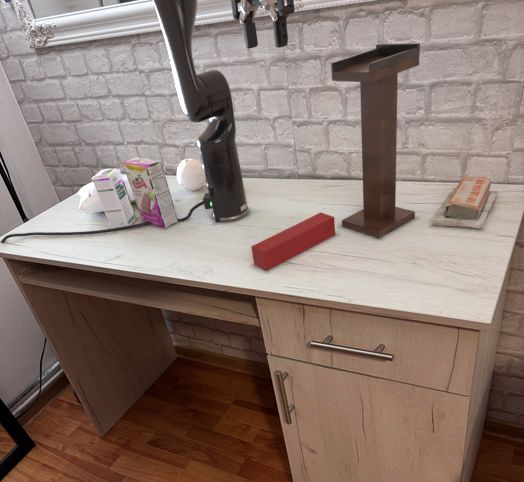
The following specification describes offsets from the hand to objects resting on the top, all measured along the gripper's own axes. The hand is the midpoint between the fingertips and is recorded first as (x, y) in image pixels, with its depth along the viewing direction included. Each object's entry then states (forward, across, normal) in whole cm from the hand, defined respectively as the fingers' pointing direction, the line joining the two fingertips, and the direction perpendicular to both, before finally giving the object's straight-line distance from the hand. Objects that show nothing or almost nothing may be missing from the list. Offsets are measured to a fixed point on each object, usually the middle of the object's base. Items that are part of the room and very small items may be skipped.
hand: (266, 47), depth 85 cm
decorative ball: (+38, +53, -5) cm, 65 cm away
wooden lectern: (+38, -10, -18) cm, 43 cm away
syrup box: (+38, +49, +20) cm, 65 cm away
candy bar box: (+38, +40, +13) cm, 57 cm away
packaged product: (+38, -22, -33) cm, 55 cm away
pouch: (+38, +66, +16) cm, 78 cm away
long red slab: (+38, -4, +2) cm, 38 cm away
